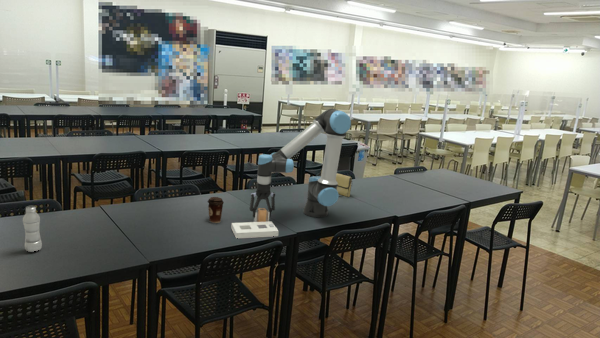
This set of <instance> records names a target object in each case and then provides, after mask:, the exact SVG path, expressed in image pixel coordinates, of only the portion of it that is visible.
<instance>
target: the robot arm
mask: <svg viewBox="0 0 600 338" xmlns="http://www.w3.org/2000/svg"><path fill="white" fill-rule="evenodd" d="M351 125H352V121H351V117H350V116H349V114H348V113H347V112H345V111H342V110H339V109H336V108H329V109H326V110H325V111H323V112H322V113H320V114H319V115H318V116H316V117H315V118H314V119H313V121H312V123H310V125H309V126H307V127H306V128H305V129H303V130H302V131H301V132H300V133H299V134H298V135H296V136H295V137H294V138H293V139H292V140H290V141H289V142H288V143H287V144H285V145H284V146H283V147H281V148H280V149H279V150H278V151H277V152H272V153H271V154H265V153H262V154H259V155H258V161H257V176H256V177H257V179H256V182H257V183H256V191H255V192H251V193H250V197H251V198H250V205H249V211H251V212H252V218H253V222H257V216H258V208H259V206H260V205H259V204H260V202H261V200H262V201H263V200H265V202H266V207H267V209H266V210H267V214H266V222H268V221H270V218H271V217H272V212H273V211H275V210H276V209H275V208H276V204H275V203H276V202H275V197H276V193H275V192H272V191H271V185H272V184H271V183H272V173H277V174H278V173H281V174H282V173H285V174H288V173H292V172H293V171H294V165H295V164H294V160H293V159H291V158H292V157H293V156H295V155H296V154H298V152H300V151H301V150H302V149H303V148H305V147H306V146H307V145H308V144H310V143H311V142H312V141H314V140H315V139H316V138H317V137H318V136H319V135H321V134H325V135H326V142H325V149H324V156H323V162H322V167H321V168H322V173H321V176H318V175H317V176H313V175H312V176H310V177H309V178H308V182H307V183H308V186H307V198H306V199H307V200H306V203H305V204H304V207H303V210H302V213H303V214H304V215H306V216H307V217H312V218H325V217H327V216H328V214H329V209H328V207H331V206H333V205H335V204H336V203H337V202H338V200H339V198H340V197H339V196H340V194H338V191H337V185H338V183H337V181H336V175H337V173H338V167H339V161H340V155H341V150H342V144H343V139H344V138H346V136H347V132H348V131H349V130H350V128H351ZM255 197H256V200H255ZM269 197H270V198H271V199H270V200H269ZM270 201H271V203H270Z"/></svg>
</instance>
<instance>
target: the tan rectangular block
mask: <svg viewBox="0 0 600 338" xmlns="http://www.w3.org/2000/svg"><path fill="white" fill-rule="evenodd" d="M267 210H268V209H266V207H265V208H264V207H257V221H256V222H266V219H267Z"/></svg>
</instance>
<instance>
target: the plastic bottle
mask: <svg viewBox="0 0 600 338" xmlns="http://www.w3.org/2000/svg"><path fill="white" fill-rule="evenodd" d="M36 211H37V207H36V206H35V205H28V206H25V214H24V215H23V217H22V224H23V228H24V234H25V237H24V250H25V251H26V252H27V251H28V253H35V252H34V251H36V252H38V250H39V251H40V250H41V249H42V247H43V246H42V245H43V243H42V242H43V241H42V238H41V234H40V224H41V217H40V214H38V213H37V212H36Z"/></svg>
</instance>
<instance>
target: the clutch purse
mask: <svg viewBox="0 0 600 338" xmlns="http://www.w3.org/2000/svg"><path fill="white" fill-rule="evenodd" d="M321 173H322V169H321V168H320V172H319V173H318V175H317V176H321ZM336 181H337V183H338V185H337V191H338V194H339V197H338V198H342V197H346V198H349V197H350V196H351V189H352V187H353V185H352V183H353V176H350V175H344V174H341V173H338V172H337V175H336Z"/></svg>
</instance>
